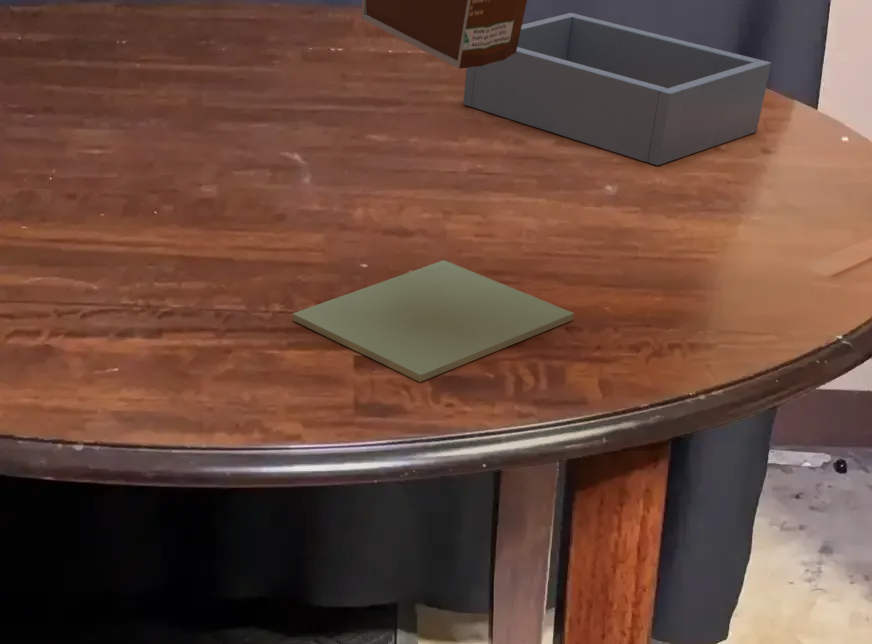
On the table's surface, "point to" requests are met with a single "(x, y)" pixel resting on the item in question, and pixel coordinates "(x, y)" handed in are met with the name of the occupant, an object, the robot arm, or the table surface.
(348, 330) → the mat
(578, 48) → the box
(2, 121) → the table surface
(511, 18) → the food container
